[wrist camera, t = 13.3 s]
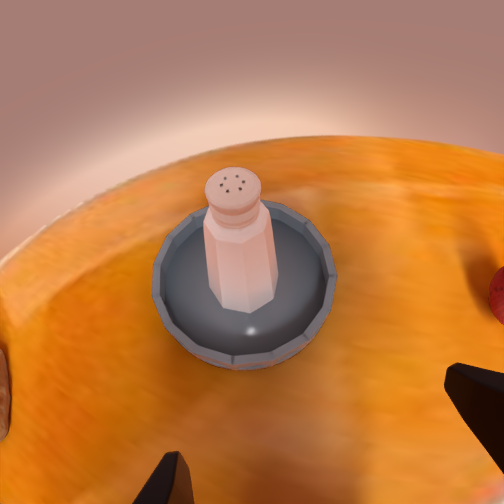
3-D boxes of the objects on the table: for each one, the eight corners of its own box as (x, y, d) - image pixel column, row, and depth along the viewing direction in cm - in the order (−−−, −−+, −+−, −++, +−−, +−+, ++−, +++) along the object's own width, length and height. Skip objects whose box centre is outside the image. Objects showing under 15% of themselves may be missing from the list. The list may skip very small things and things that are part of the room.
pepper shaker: (271, 246, 26) (274, 141, 17) (286, 307, 24) (301, 218, 14) (205, 258, 26) (176, 157, 16) (214, 320, 23) (180, 238, 14)
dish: (309, 391, 21) (314, 387, 19) (135, 338, 23) (123, 328, 21) (341, 234, 28) (347, 217, 26) (196, 203, 30) (191, 185, 28)
